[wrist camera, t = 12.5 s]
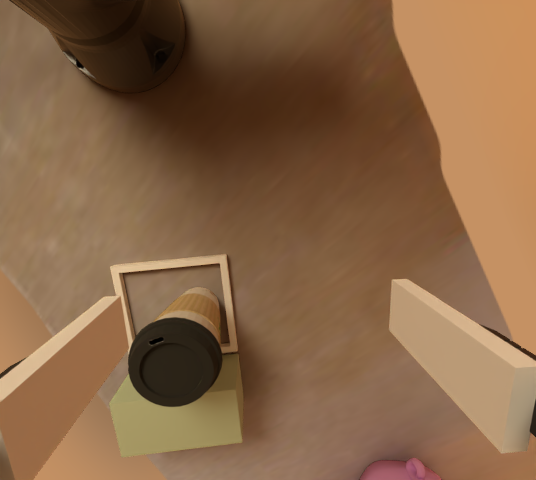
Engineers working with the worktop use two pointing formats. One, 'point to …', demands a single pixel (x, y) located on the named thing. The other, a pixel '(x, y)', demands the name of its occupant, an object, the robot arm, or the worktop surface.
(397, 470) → the pink pot with handles
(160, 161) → the worktop surface
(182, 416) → the green block with frame
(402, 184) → the worktop surface
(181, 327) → the coffee cup
